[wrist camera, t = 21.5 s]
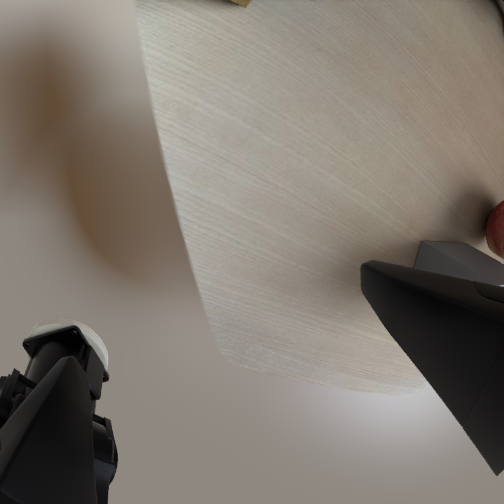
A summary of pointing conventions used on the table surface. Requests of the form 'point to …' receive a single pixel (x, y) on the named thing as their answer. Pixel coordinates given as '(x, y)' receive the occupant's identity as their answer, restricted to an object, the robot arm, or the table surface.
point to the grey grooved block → (459, 262)
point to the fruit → (496, 230)
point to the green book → (242, 2)
